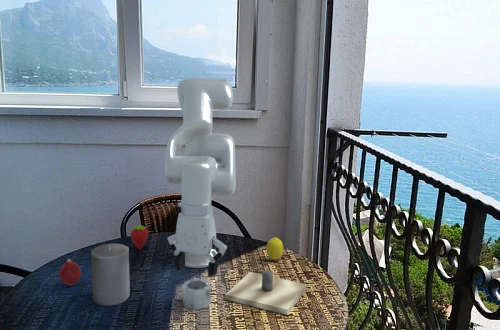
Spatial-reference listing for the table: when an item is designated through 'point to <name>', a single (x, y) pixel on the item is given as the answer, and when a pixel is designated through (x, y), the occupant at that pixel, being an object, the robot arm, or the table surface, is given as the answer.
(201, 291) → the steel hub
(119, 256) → the pillar candle
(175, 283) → the table surface
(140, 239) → the strawberry
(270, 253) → the lemon
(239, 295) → the post board
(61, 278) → the onion
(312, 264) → the table surface
